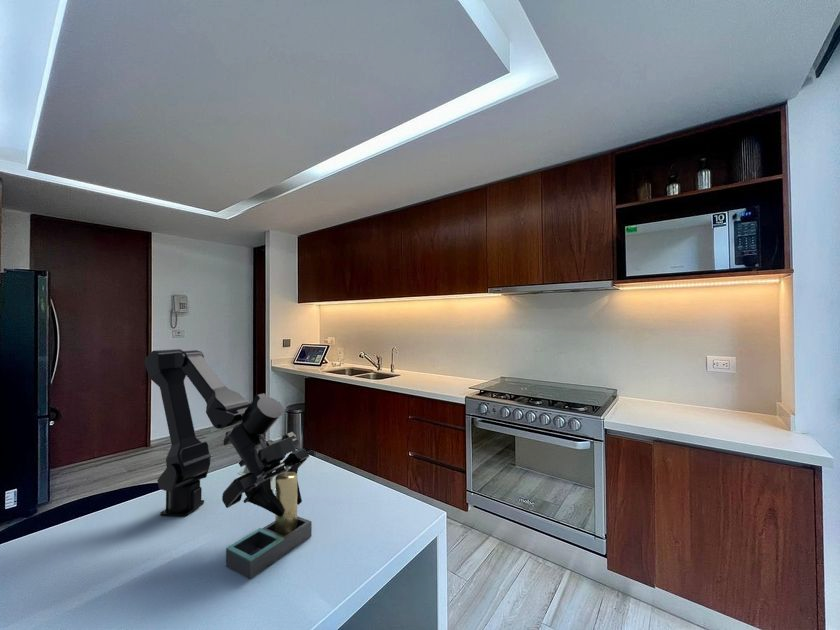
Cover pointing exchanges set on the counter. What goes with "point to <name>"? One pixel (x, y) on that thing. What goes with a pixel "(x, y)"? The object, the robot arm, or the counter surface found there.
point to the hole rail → (265, 548)
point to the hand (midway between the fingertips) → (291, 509)
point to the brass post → (286, 502)
